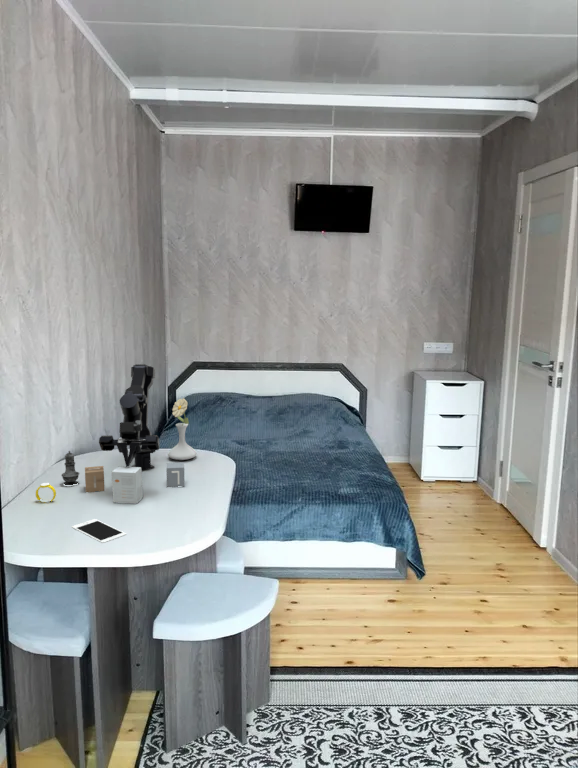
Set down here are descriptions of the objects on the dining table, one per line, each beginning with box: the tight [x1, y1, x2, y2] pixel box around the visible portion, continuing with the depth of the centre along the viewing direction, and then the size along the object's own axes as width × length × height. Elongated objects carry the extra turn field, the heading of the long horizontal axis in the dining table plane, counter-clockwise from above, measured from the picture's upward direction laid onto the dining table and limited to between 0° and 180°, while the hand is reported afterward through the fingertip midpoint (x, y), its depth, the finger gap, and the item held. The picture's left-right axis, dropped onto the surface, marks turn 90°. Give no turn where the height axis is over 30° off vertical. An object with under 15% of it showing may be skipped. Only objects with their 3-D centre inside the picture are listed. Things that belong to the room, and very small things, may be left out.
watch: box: [35, 482, 57, 502], centre depth 192 cm, size 6×3×6 cm, turn 92°
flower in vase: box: [167, 397, 198, 461], centre depth 238 cm, size 13×11×25 cm
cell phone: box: [71, 518, 127, 544], centre depth 171 cm, size 8×16×1 cm, turn 50°
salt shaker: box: [61, 450, 80, 485], centre depth 208 cm, size 6×6×12 cm
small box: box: [111, 465, 144, 505], centre depth 194 cm, size 8×6×10 cm
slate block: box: [165, 462, 186, 488], centre depth 210 cm, size 6×6×7 cm
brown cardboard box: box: [84, 465, 105, 493], centre depth 204 cm, size 6×6×7 cm
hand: (127, 466), depth 193 cm, fingers closed
